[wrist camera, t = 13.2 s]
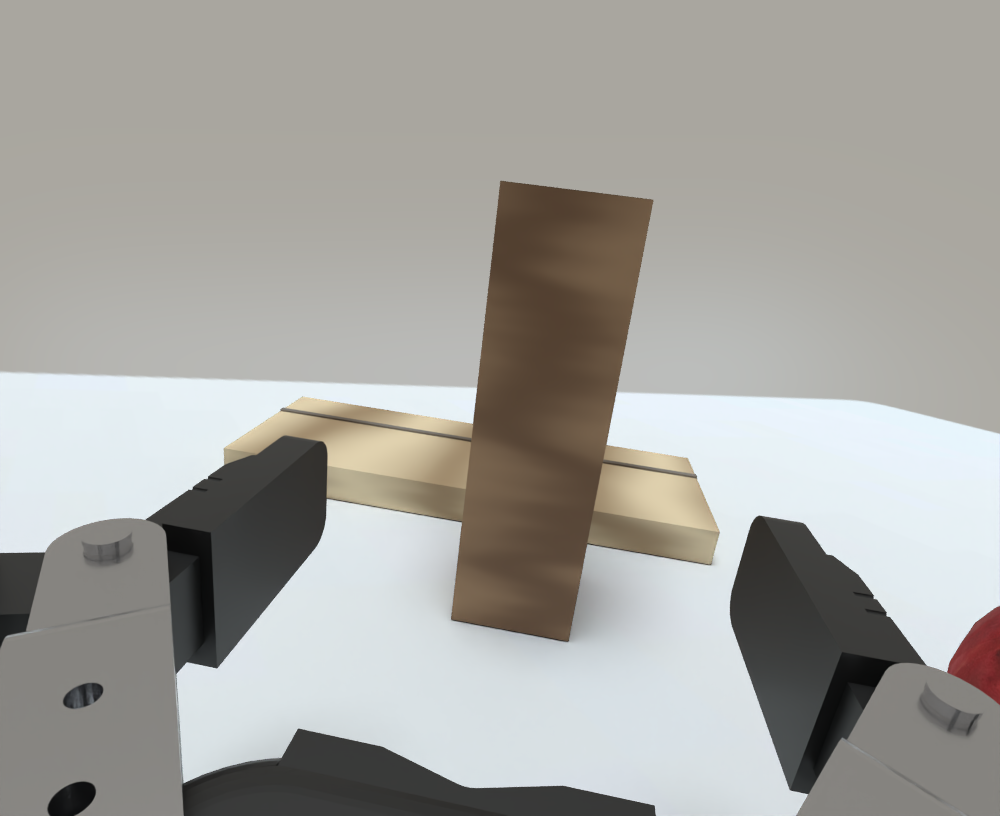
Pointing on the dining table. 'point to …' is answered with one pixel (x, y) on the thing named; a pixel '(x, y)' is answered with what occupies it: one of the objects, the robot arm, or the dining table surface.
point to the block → (545, 401)
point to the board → (444, 467)
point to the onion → (980, 656)
